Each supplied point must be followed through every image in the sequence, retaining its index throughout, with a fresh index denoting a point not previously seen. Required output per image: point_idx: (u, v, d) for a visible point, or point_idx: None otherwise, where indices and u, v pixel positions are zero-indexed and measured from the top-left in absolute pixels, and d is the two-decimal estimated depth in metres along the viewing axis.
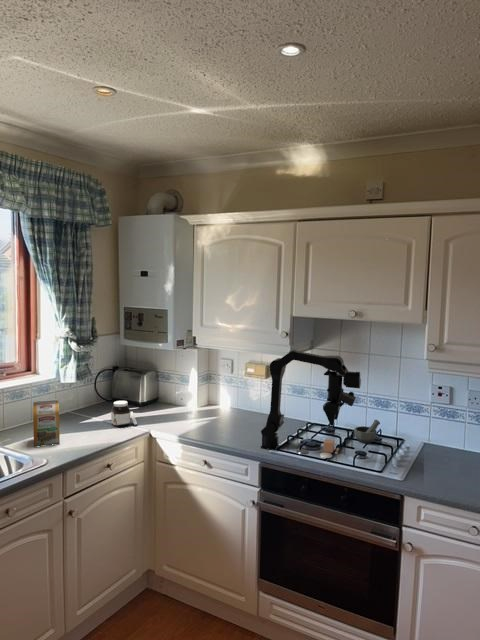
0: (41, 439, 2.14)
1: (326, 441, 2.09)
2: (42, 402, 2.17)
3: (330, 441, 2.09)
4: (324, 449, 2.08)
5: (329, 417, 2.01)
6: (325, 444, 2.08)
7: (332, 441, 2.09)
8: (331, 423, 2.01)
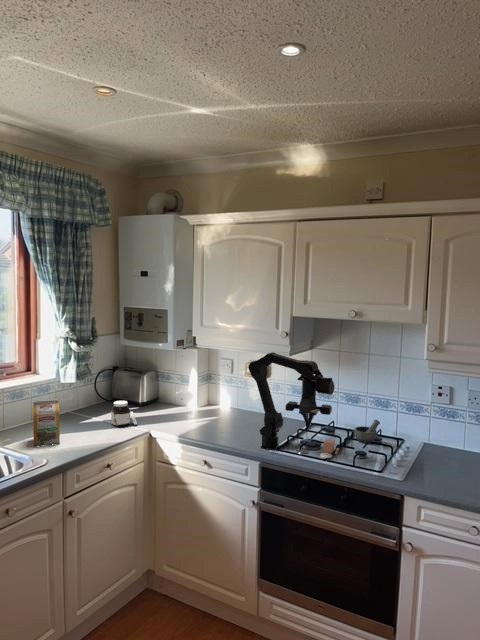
0: (41, 439, 2.14)
1: (326, 441, 2.09)
2: (42, 402, 2.17)
3: (330, 441, 2.09)
4: (324, 449, 2.08)
5: None
6: (325, 444, 2.08)
7: (332, 441, 2.09)
8: None
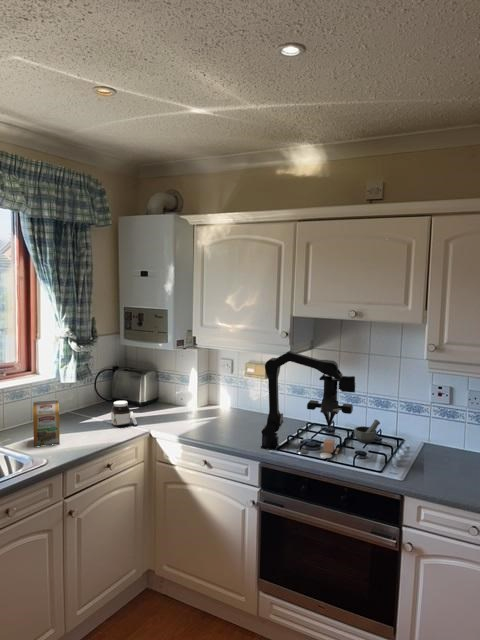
0: (41, 439, 2.14)
1: (326, 441, 2.09)
2: (42, 402, 2.17)
3: (330, 441, 2.09)
4: (324, 449, 2.08)
5: None
6: (325, 444, 2.08)
7: (332, 441, 2.09)
8: None
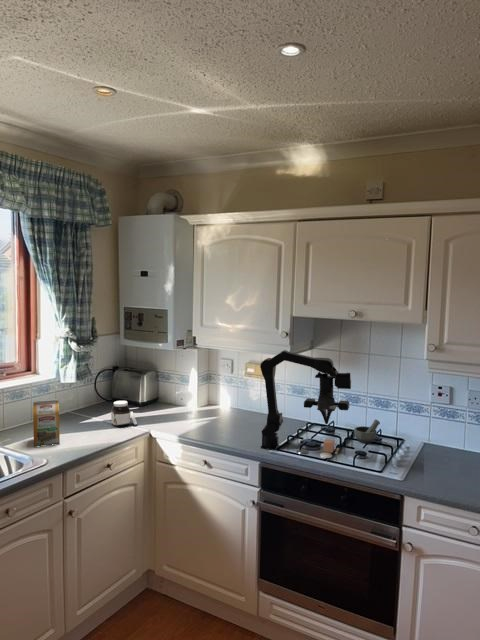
0: (41, 439, 2.14)
1: (326, 441, 2.09)
2: (42, 402, 2.17)
3: (330, 441, 2.09)
4: (324, 449, 2.08)
5: None
6: (325, 444, 2.08)
7: (332, 441, 2.09)
8: None
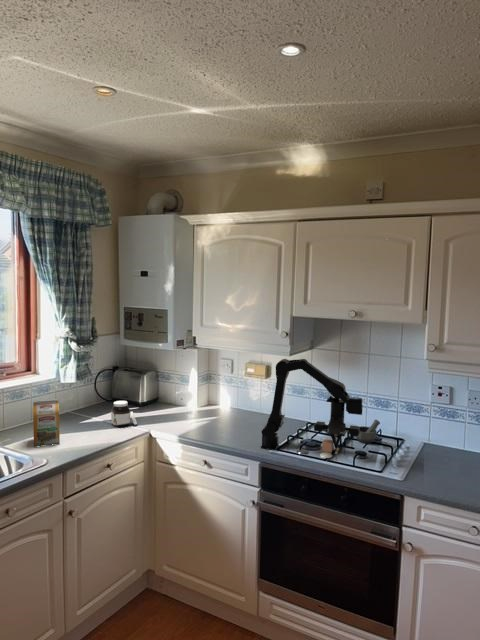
0: (41, 439, 2.14)
1: (325, 441, 2.09)
2: (42, 402, 2.17)
3: (329, 441, 2.10)
4: (323, 449, 2.09)
5: None
6: (324, 444, 2.08)
7: (331, 441, 2.10)
8: None
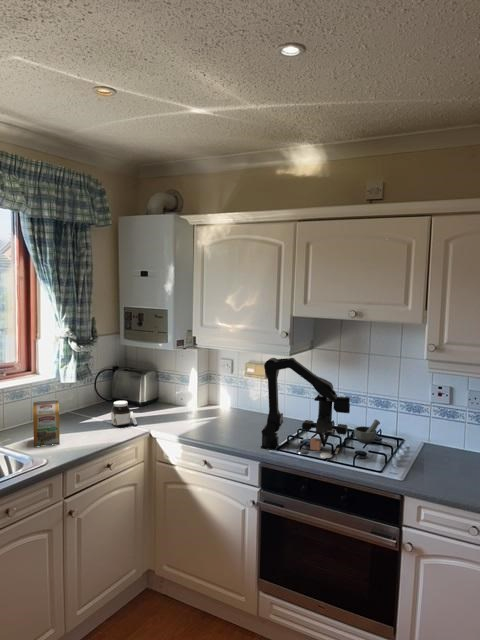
0: (41, 439, 2.14)
1: (313, 439, 2.11)
2: (42, 402, 2.17)
3: (317, 439, 2.11)
4: (311, 447, 2.10)
5: None
6: (312, 442, 2.10)
7: (319, 439, 2.11)
8: None
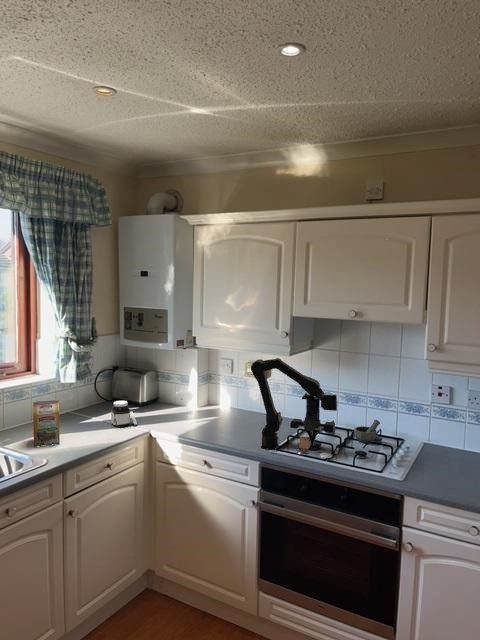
0: (41, 439, 2.14)
1: (302, 438, 2.13)
2: (42, 402, 2.17)
3: (306, 438, 2.13)
4: (300, 446, 2.12)
5: None
6: (301, 441, 2.12)
7: (308, 438, 2.13)
8: None
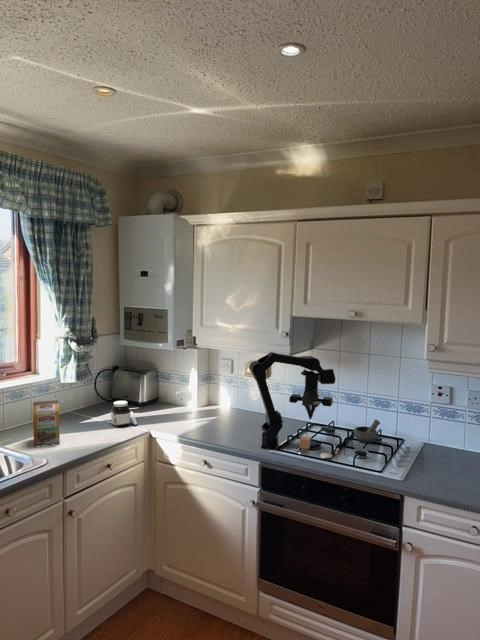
0: (41, 439, 2.14)
1: (302, 438, 2.13)
2: (42, 402, 2.17)
3: (306, 438, 2.13)
4: (300, 446, 2.12)
5: None
6: (301, 441, 2.12)
7: (308, 438, 2.13)
8: None
